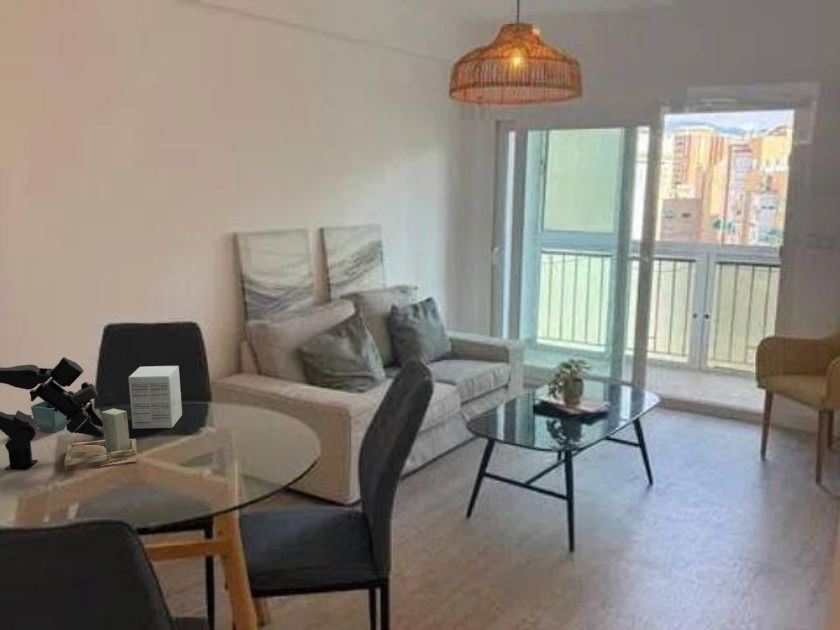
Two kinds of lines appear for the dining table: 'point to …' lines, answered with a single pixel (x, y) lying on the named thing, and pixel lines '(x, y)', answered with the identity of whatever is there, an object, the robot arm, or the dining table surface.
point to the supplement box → (155, 397)
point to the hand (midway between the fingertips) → (102, 430)
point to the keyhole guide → (96, 456)
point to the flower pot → (48, 417)
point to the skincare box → (115, 430)
